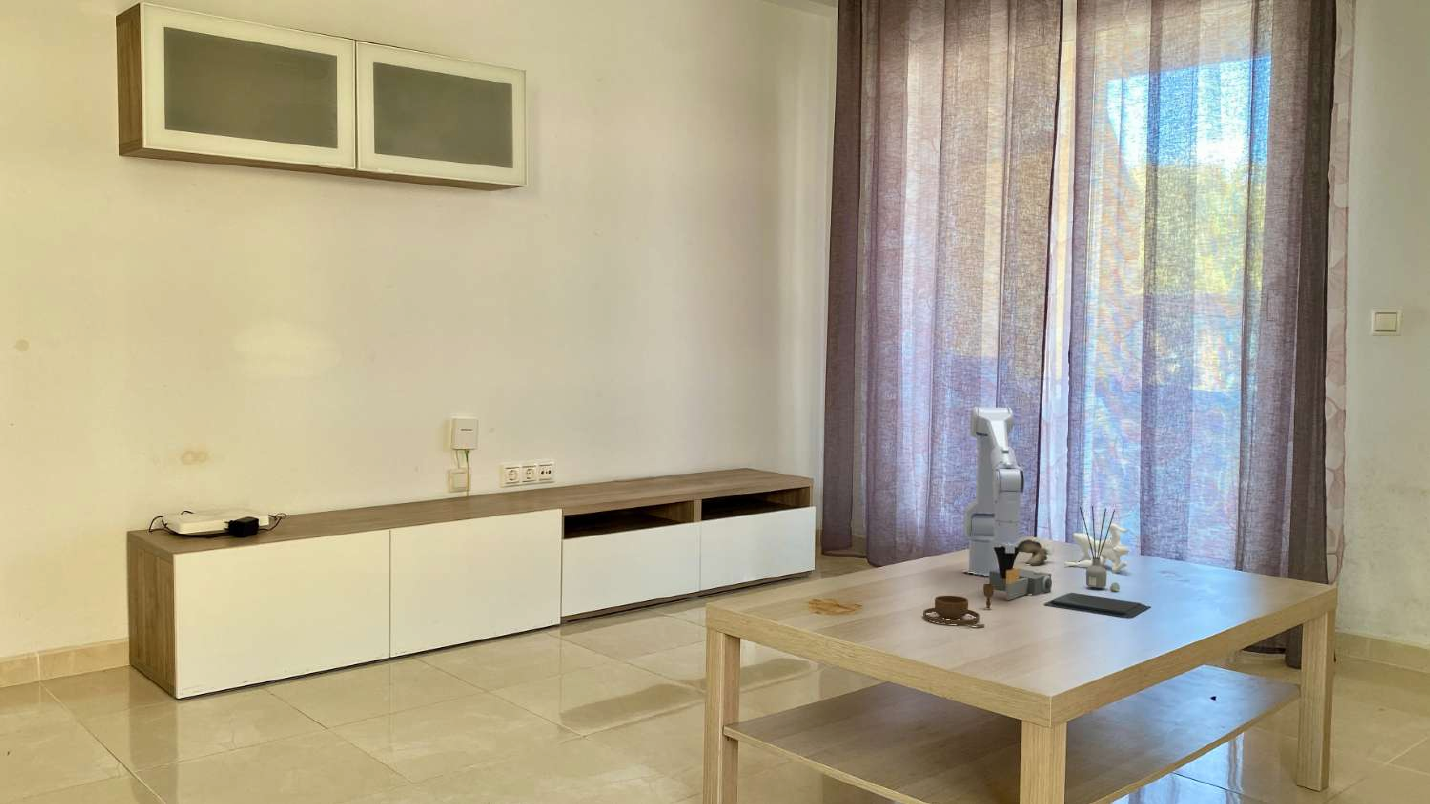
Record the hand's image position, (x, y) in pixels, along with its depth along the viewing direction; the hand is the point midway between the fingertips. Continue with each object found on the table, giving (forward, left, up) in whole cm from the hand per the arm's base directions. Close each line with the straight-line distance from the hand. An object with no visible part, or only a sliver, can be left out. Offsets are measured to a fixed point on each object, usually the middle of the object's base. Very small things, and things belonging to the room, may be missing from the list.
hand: (1005, 578), depth 258 cm
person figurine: (-51, 0, -5) cm, 51 cm away
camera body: (-11, -2, -5) cm, 12 cm away
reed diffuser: (-26, +11, -5) cm, 29 cm away
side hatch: (-2, +2, -4) cm, 5 cm away
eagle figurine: (-44, -15, -5) cm, 47 cm away
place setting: (+24, +4, -5) cm, 24 cm away
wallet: (-7, +19, -5) cm, 21 cm away
